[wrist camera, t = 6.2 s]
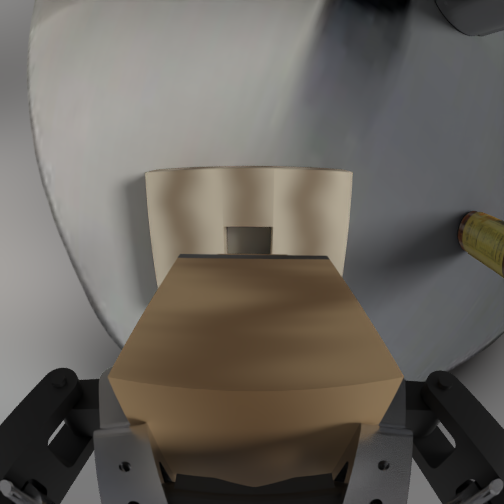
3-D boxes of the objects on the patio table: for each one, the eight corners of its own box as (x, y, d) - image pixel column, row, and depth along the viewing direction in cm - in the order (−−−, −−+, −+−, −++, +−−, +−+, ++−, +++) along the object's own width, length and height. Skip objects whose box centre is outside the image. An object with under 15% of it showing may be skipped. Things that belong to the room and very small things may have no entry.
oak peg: (311, 233, 13) (403, 376, 4) (301, 329, 15) (338, 484, 6) (194, 231, 13) (107, 377, 4) (201, 328, 15) (166, 484, 6)
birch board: (341, 169, 28) (352, 172, 25) (329, 300, 34) (335, 315, 30) (156, 169, 28) (145, 172, 25) (170, 299, 34) (162, 314, 31)
